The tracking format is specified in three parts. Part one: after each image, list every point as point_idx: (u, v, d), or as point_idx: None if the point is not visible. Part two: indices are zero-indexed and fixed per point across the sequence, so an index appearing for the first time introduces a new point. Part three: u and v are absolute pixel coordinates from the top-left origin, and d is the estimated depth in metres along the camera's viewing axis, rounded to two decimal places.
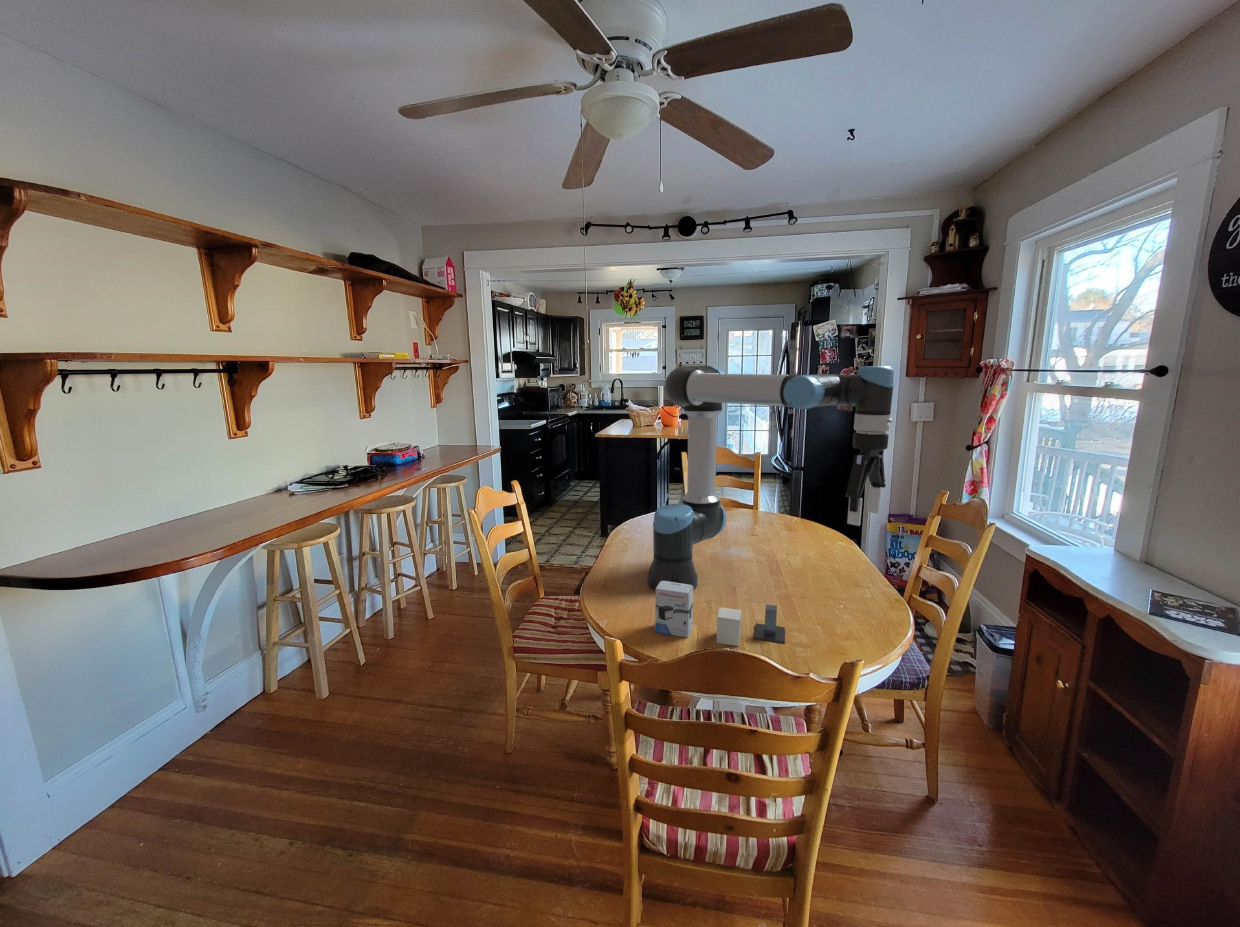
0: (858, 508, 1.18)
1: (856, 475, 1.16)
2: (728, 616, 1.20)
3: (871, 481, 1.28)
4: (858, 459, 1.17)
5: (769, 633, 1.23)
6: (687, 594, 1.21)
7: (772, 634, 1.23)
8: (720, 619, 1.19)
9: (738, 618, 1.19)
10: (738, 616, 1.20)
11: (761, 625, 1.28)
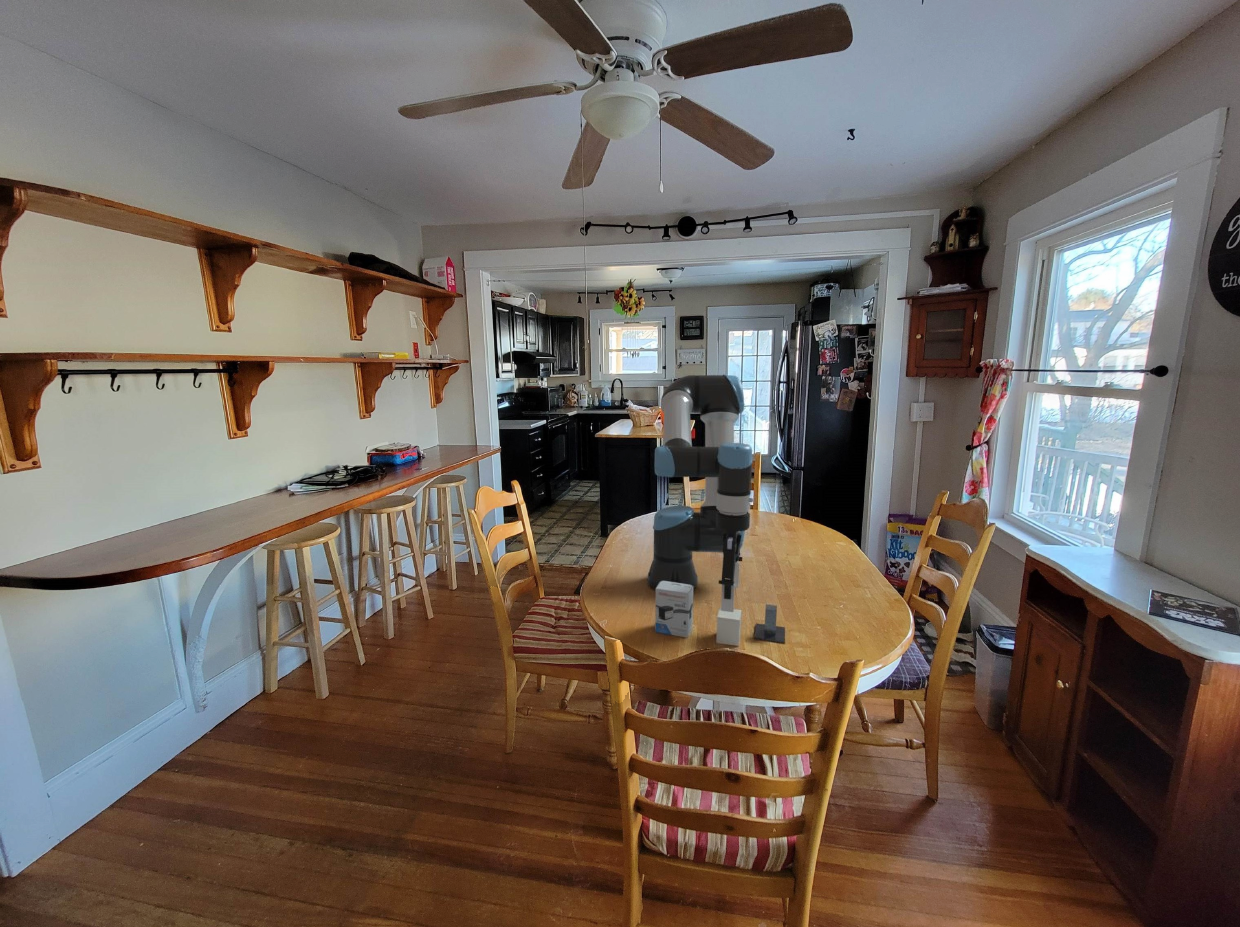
0: (731, 594, 1.12)
1: (729, 561, 1.10)
2: (728, 616, 1.20)
3: None
4: (729, 543, 1.11)
5: (769, 633, 1.23)
6: (687, 594, 1.21)
7: (772, 634, 1.23)
8: (720, 619, 1.19)
9: (738, 618, 1.19)
10: (738, 616, 1.20)
11: (761, 625, 1.28)
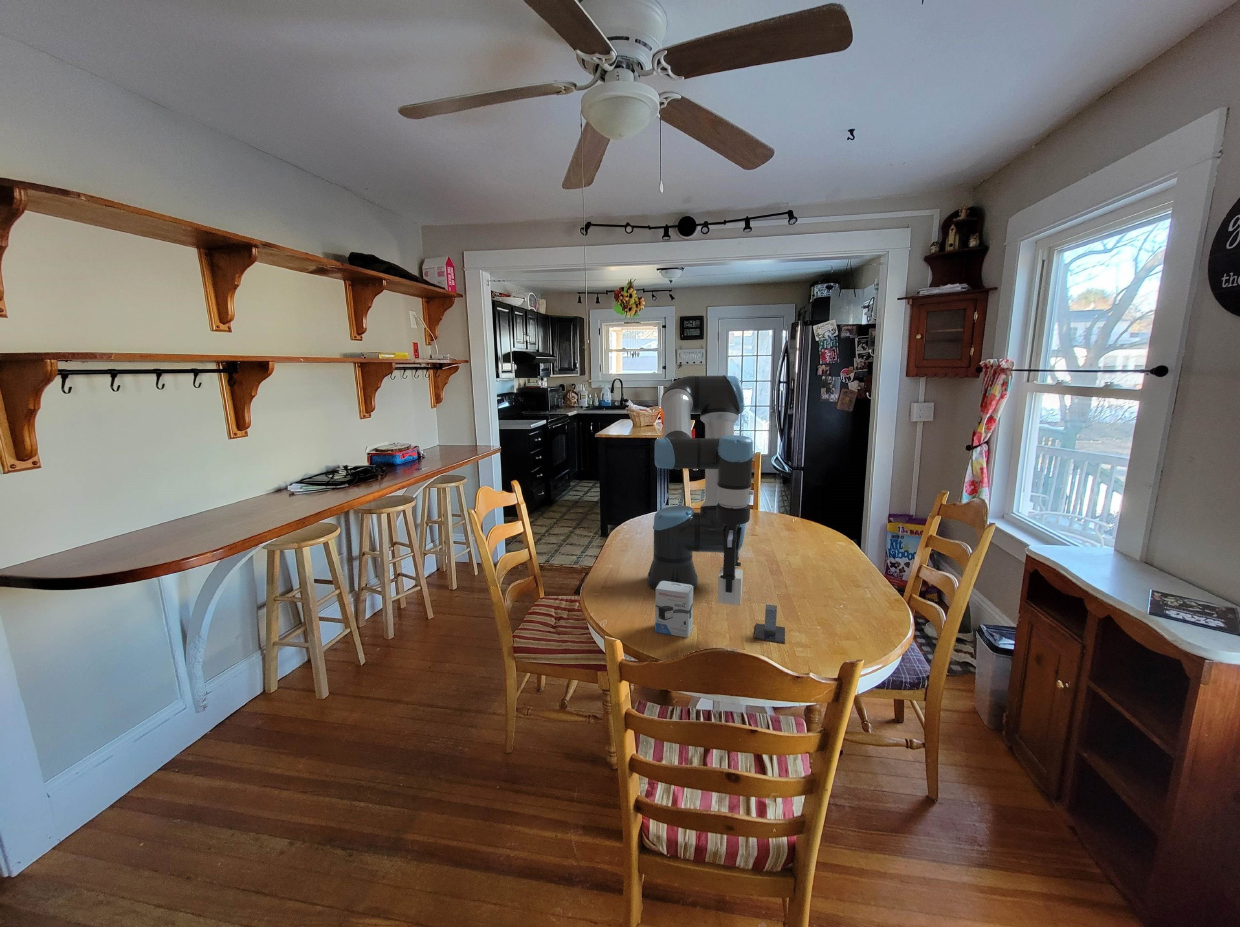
0: (733, 588, 1.17)
1: (729, 559, 1.13)
2: None
3: None
4: (729, 543, 1.12)
5: (769, 633, 1.23)
6: (687, 594, 1.21)
7: (772, 634, 1.23)
8: (722, 578, 1.18)
9: (739, 577, 1.17)
10: (740, 575, 1.18)
11: (761, 625, 1.28)
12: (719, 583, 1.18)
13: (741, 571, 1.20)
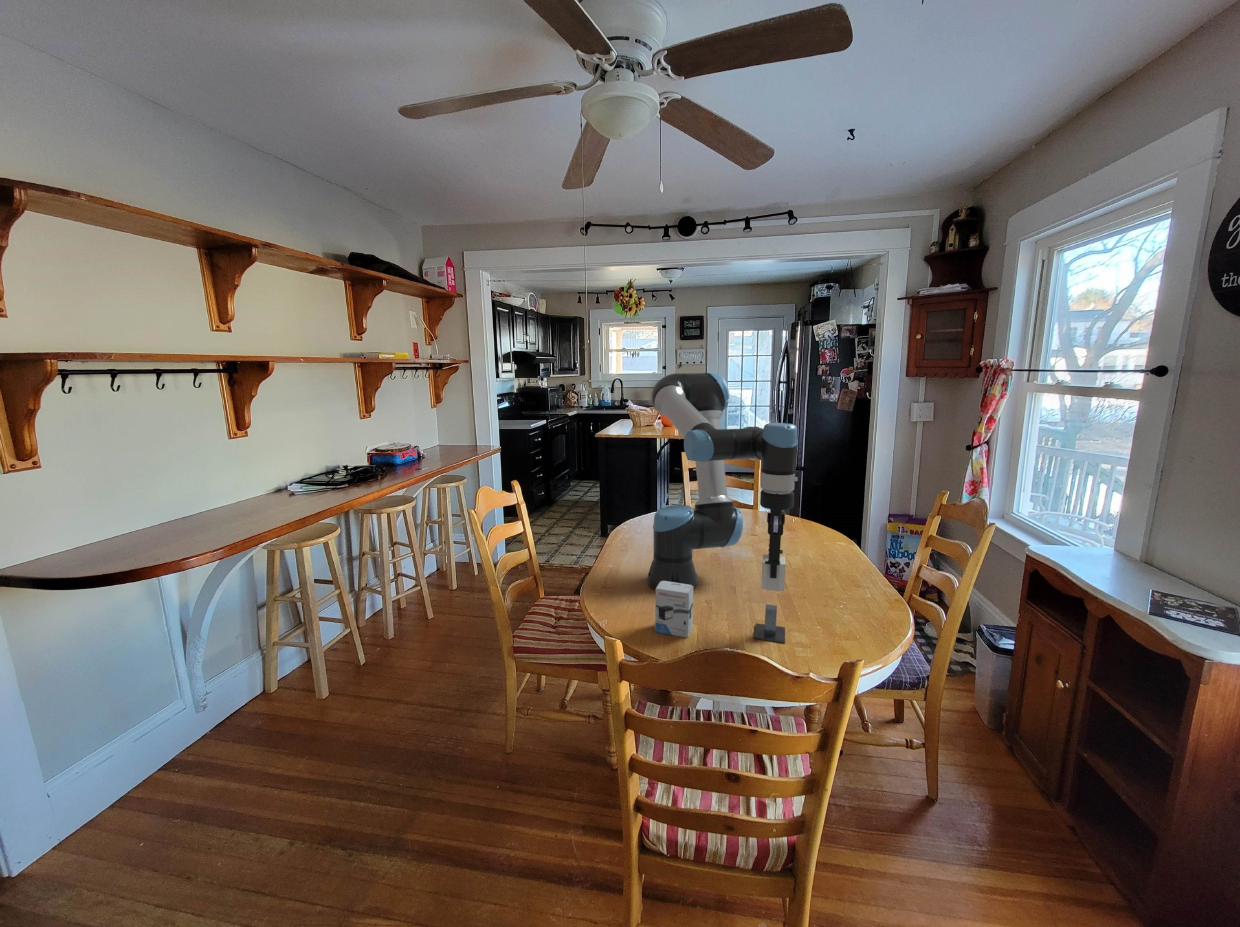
0: (777, 574, 1.18)
1: (775, 544, 1.14)
2: None
3: None
4: (775, 528, 1.13)
5: (769, 633, 1.23)
6: (687, 594, 1.21)
7: (772, 634, 1.23)
8: (766, 564, 1.19)
9: (784, 563, 1.18)
10: (783, 561, 1.19)
11: (761, 625, 1.28)
12: (763, 569, 1.19)
13: (784, 558, 1.22)
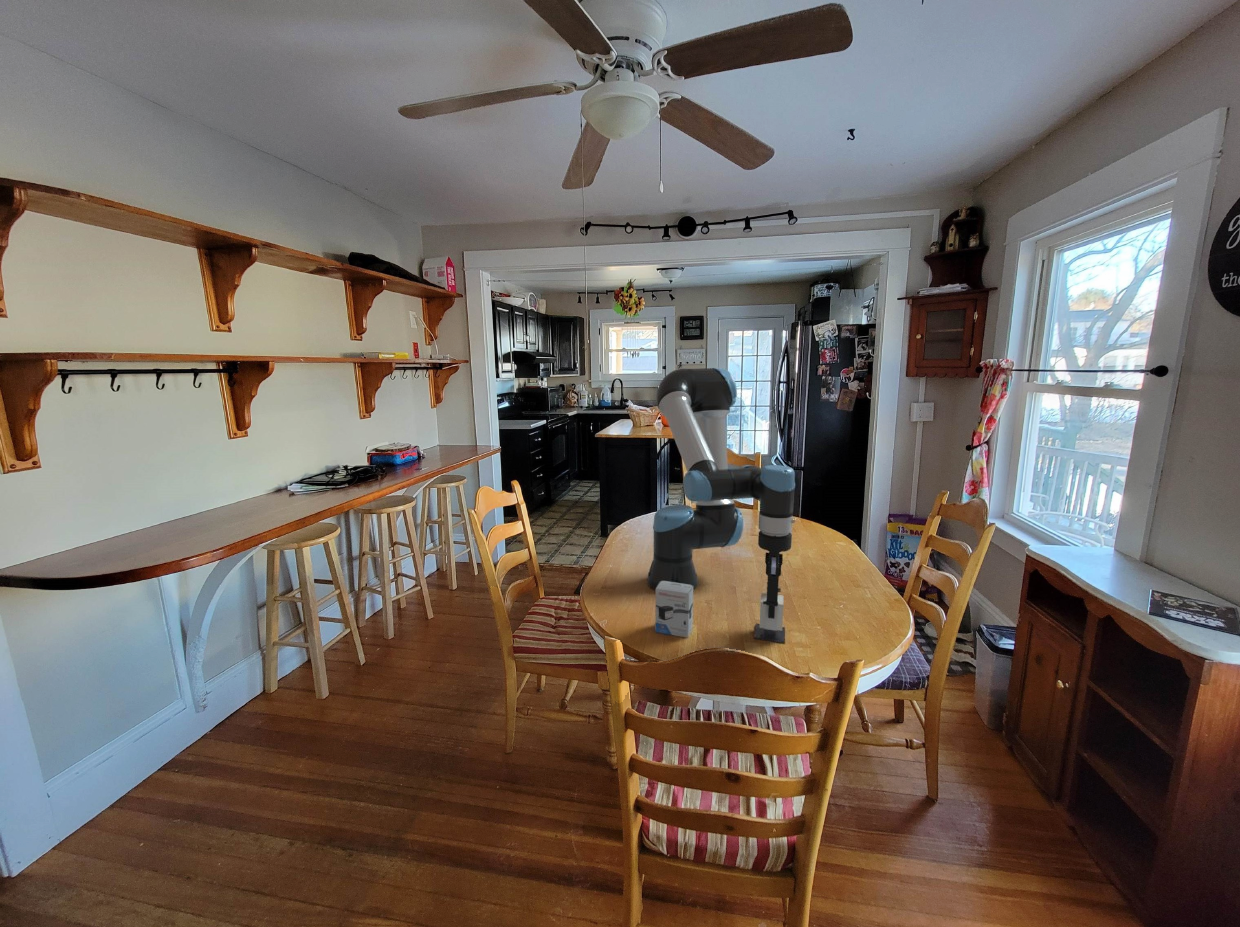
0: (775, 614, 1.20)
1: (773, 586, 1.16)
2: None
3: None
4: (773, 570, 1.15)
5: (769, 633, 1.23)
6: (687, 594, 1.21)
7: (772, 634, 1.23)
8: (764, 604, 1.21)
9: (781, 603, 1.20)
10: (781, 601, 1.21)
11: None
12: (761, 609, 1.21)
13: (782, 597, 1.23)
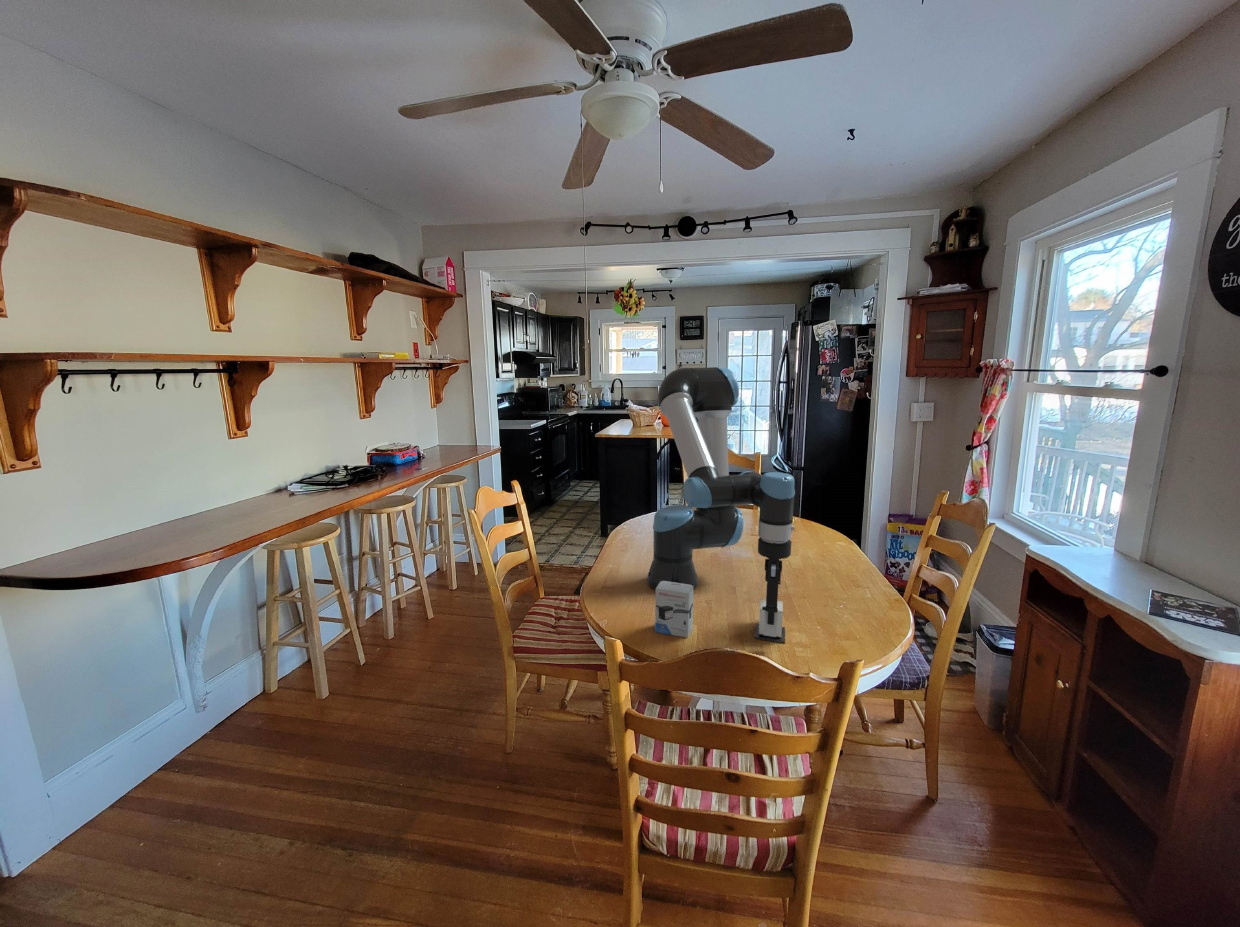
0: (774, 620, 1.16)
1: (773, 589, 1.14)
2: None
3: None
4: (773, 571, 1.15)
5: None
6: (687, 594, 1.21)
7: None
8: (763, 610, 1.21)
9: (781, 609, 1.21)
10: (781, 607, 1.22)
11: None
12: (761, 615, 1.22)
13: (781, 603, 1.24)
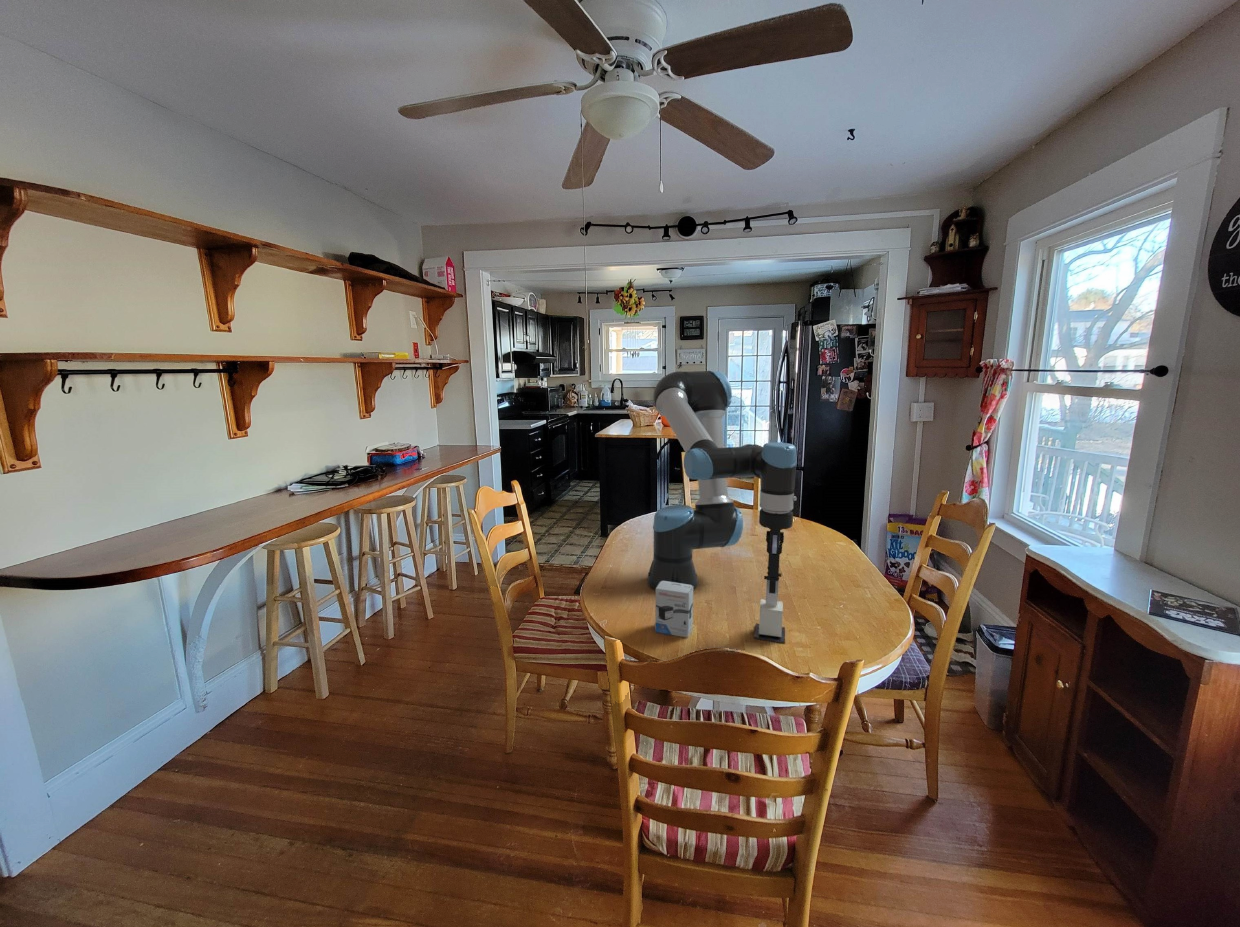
0: (776, 589, 1.21)
1: (774, 564, 1.16)
2: (771, 607, 1.22)
3: None
4: (774, 551, 1.15)
5: None
6: (687, 594, 1.21)
7: None
8: (763, 610, 1.21)
9: (781, 609, 1.21)
10: (781, 607, 1.22)
11: None
12: (761, 615, 1.22)
13: (781, 603, 1.24)
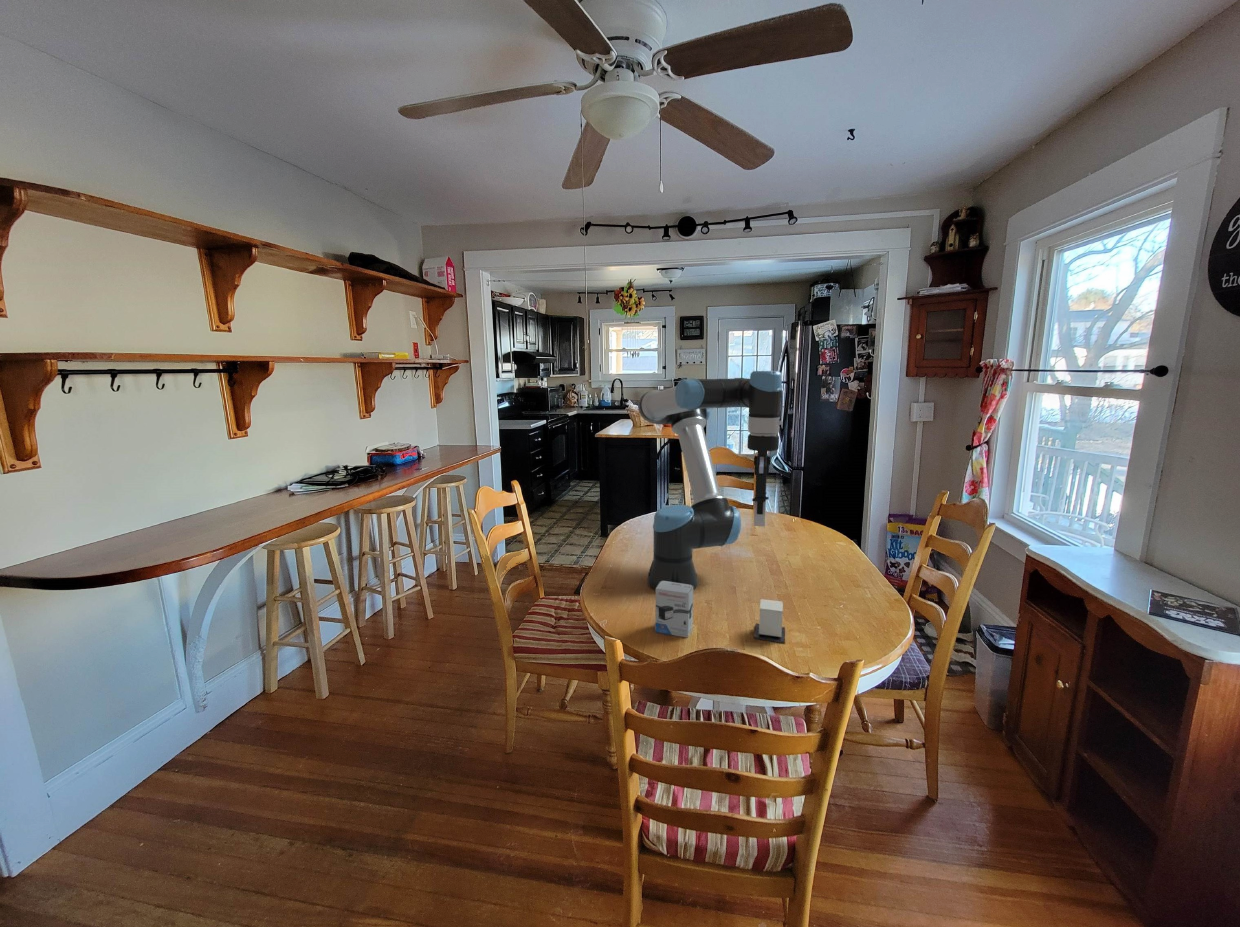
0: (763, 510, 1.29)
1: (761, 483, 1.24)
2: (771, 607, 1.22)
3: None
4: (761, 470, 1.22)
5: None
6: (687, 594, 1.21)
7: None
8: (763, 610, 1.21)
9: (781, 609, 1.21)
10: (781, 607, 1.22)
11: None
12: (761, 615, 1.22)
13: (781, 603, 1.24)
